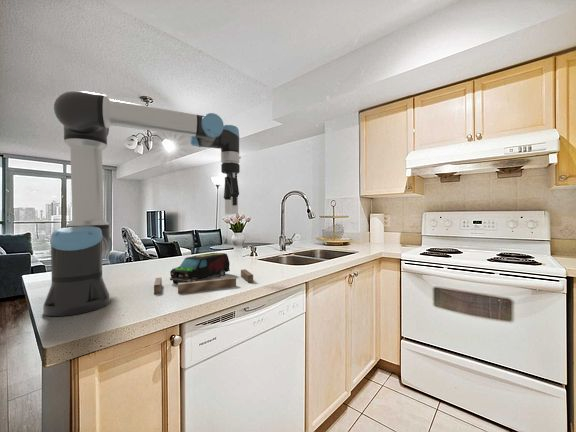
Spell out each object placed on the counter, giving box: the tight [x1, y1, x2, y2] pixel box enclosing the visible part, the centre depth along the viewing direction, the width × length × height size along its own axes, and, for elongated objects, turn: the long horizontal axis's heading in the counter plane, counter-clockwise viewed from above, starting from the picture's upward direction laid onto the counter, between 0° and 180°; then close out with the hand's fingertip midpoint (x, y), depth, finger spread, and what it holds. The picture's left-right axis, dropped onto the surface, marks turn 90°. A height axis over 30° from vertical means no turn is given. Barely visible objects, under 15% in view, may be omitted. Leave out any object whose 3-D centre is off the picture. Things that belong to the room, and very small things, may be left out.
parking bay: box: [153, 269, 254, 295], centre depth 101 cm, size 35×15×3 cm, turn 114°
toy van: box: [169, 252, 231, 284], centre depth 111 cm, size 11×25×10 cm, turn 153°
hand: (231, 214), depth 110 cm, fingers open, 13 cm apart
